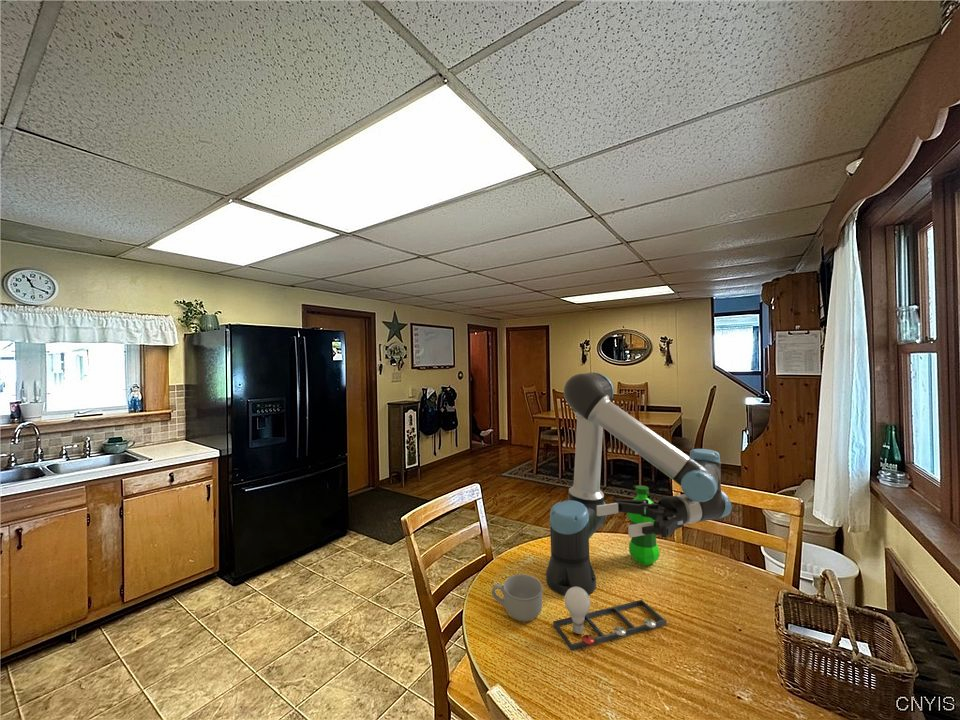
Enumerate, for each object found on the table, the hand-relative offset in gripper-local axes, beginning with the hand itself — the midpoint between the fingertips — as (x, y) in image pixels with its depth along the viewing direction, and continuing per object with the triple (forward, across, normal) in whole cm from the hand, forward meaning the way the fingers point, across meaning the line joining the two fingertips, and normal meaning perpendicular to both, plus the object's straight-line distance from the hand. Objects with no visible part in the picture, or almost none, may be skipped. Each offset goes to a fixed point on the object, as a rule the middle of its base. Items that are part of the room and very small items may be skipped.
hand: (612, 520), depth 99 cm
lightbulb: (+11, 0, -27) cm, 29 cm away
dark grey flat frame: (+2, 0, -27) cm, 27 cm away
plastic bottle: (-28, +23, -27) cm, 45 cm away
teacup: (+23, +12, -27) cm, 37 cm away
